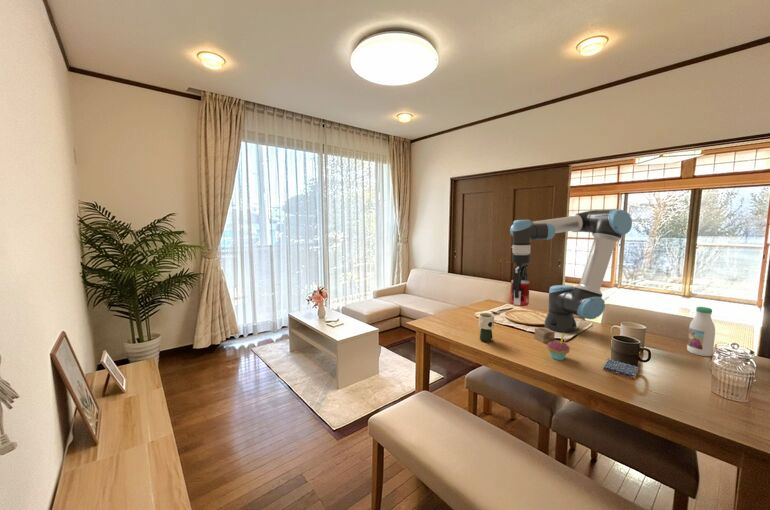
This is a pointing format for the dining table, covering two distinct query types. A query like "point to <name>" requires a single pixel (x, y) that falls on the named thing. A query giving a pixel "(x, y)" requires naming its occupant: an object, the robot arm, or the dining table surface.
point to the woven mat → (620, 368)
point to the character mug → (486, 326)
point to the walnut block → (544, 335)
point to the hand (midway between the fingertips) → (519, 302)
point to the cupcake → (558, 349)
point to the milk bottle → (701, 333)
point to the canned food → (522, 293)
